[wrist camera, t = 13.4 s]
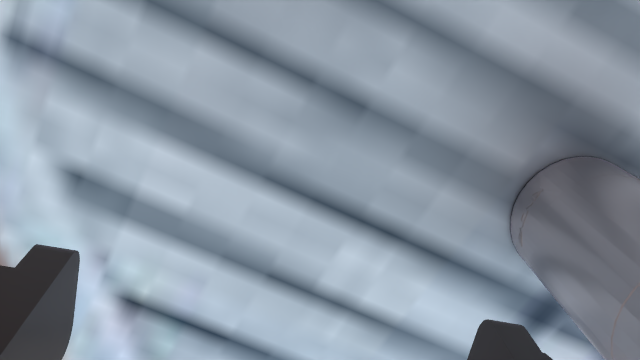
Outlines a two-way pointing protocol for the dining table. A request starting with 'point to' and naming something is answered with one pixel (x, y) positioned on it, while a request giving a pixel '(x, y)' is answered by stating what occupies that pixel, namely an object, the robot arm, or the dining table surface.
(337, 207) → the dining table surface
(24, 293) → the robot arm
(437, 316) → the dining table surface
